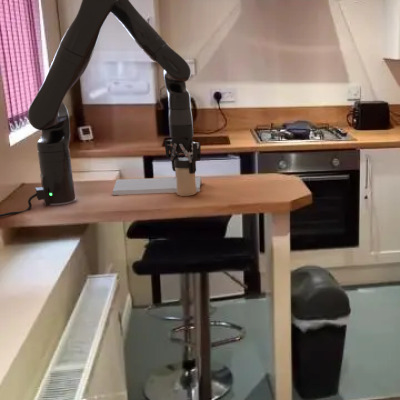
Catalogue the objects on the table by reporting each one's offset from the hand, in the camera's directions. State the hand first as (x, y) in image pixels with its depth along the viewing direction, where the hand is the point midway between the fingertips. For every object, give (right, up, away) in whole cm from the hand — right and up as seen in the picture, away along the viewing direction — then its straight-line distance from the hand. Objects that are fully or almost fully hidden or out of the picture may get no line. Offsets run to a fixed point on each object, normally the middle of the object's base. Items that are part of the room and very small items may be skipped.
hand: (184, 171), depth 199 cm
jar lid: (0, +4, 0) cm, 4 cm away
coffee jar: (0, -7, +2) cm, 8 cm away
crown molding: (-11, -6, +10) cm, 16 cm away
